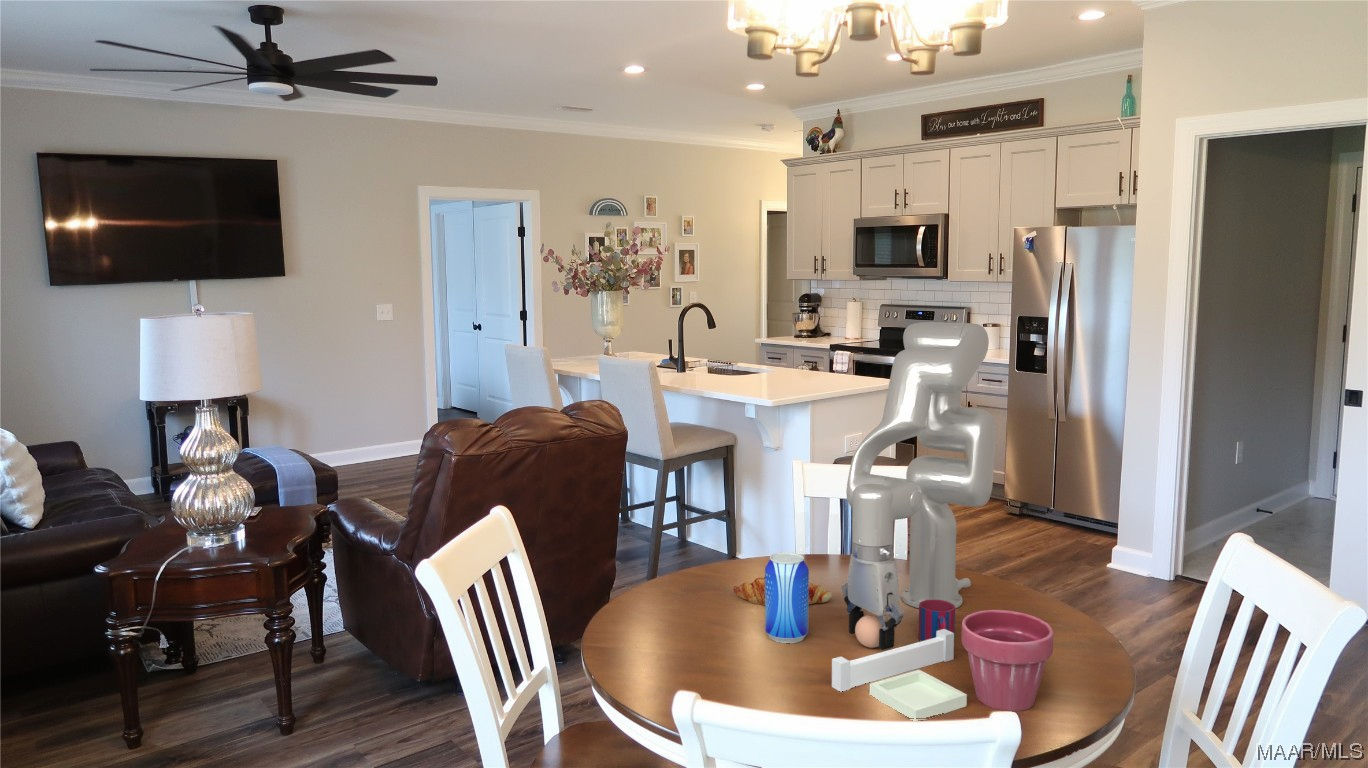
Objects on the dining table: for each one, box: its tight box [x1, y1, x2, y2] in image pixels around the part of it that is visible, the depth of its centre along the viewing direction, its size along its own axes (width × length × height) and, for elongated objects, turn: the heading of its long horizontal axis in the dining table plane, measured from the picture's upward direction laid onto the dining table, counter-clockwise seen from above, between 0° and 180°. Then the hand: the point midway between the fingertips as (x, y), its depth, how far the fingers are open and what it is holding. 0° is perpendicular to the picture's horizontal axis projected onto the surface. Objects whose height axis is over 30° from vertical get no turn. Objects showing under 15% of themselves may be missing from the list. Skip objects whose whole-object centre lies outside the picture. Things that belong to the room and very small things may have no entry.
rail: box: [831, 629, 955, 693], centre depth 161 cm, size 26×2×5 cm, turn 119°
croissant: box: [732, 576, 833, 606], centre depth 197 cm, size 21×10×8 cm, turn 84°
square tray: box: [869, 669, 968, 722], centre depth 151 cm, size 11×11×2 cm
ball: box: [854, 614, 882, 649], centre depth 173 cm, size 6×6×6 cm
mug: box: [918, 599, 956, 642], centre depth 174 cm, size 7×10×7 cm
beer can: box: [764, 551, 810, 644], centre depth 177 cm, size 8×8×16 cm
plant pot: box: [961, 609, 1054, 712], centre depth 150 cm, size 14×14×13 cm
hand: (871, 639), depth 173 cm, fingers open, 8 cm apart
